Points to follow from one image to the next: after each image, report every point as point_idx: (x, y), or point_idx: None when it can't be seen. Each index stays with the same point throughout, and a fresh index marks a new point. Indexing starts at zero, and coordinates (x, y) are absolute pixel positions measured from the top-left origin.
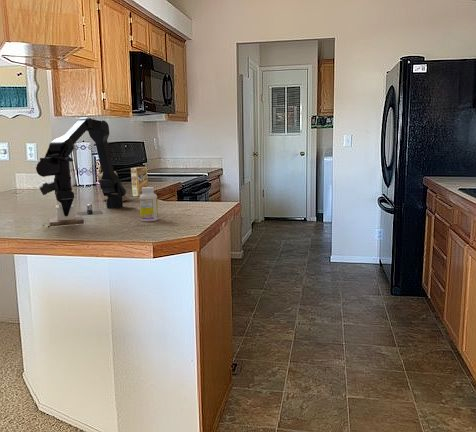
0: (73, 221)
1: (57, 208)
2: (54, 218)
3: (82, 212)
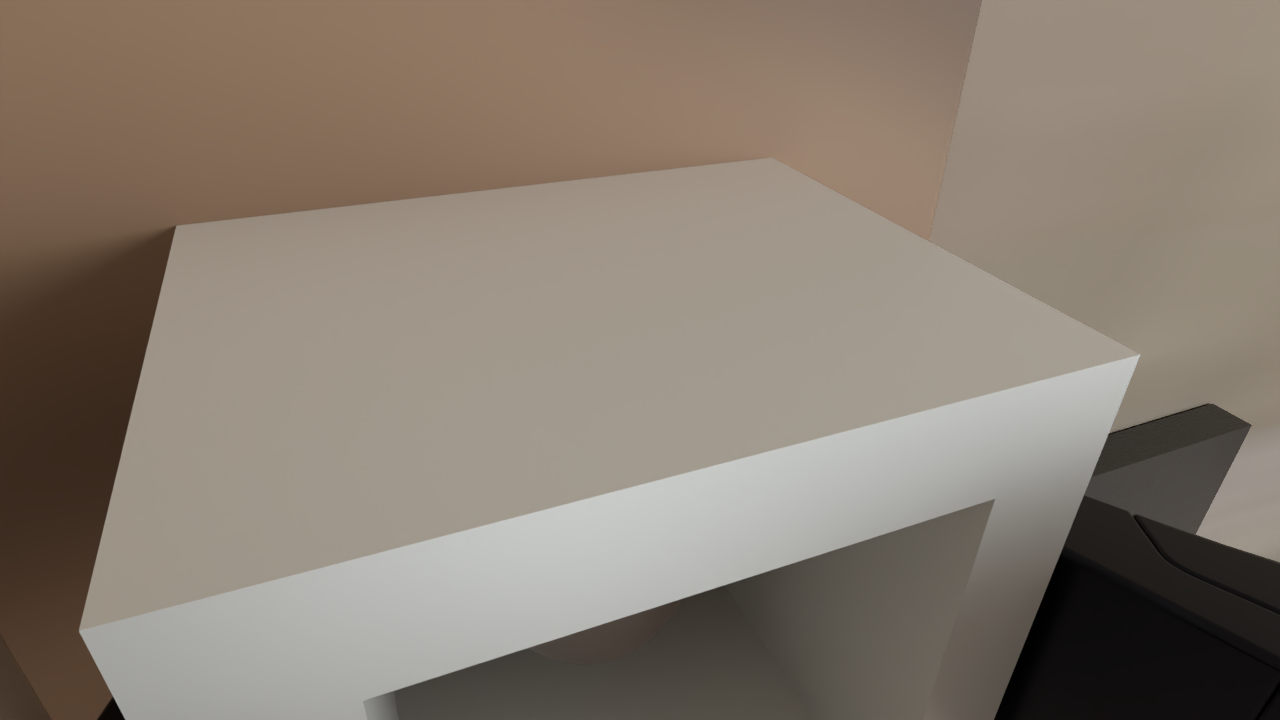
0: (46, 679)
1: (109, 625)
2: (737, 82)
3: (1158, 517)
